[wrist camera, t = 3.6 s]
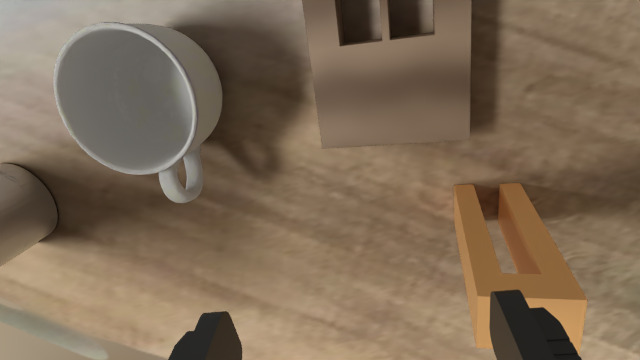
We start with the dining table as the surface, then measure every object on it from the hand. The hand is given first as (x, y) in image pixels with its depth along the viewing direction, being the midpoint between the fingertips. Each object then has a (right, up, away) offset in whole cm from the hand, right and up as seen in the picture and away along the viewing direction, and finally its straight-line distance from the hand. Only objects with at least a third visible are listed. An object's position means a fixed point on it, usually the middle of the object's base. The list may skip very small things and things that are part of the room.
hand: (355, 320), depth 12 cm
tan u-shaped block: (+13, +2, +21) cm, 25 cm away
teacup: (-13, +11, +23) cm, 29 cm away
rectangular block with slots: (+4, +17, +16) cm, 24 cm away
